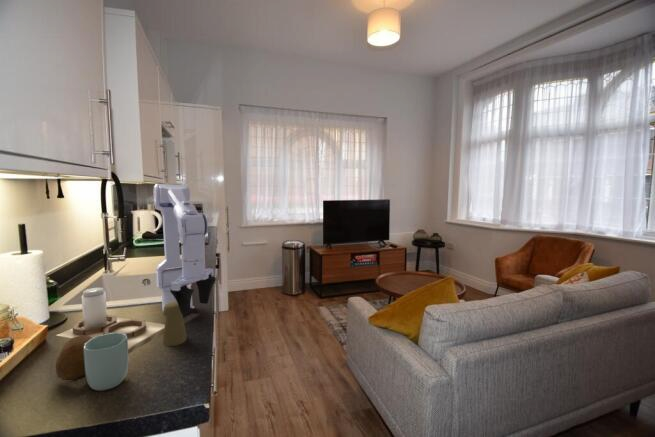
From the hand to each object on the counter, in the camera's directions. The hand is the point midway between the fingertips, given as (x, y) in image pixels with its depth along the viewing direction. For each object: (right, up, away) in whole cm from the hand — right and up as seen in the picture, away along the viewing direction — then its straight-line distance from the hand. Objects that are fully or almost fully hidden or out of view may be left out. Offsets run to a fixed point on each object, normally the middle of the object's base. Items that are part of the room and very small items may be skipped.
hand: (195, 308), depth 84 cm
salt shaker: (-33, -8, +7) cm, 34 cm away
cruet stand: (-26, -10, +6) cm, 28 cm away
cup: (-12, -12, -16) cm, 24 cm away
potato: (-21, -12, -12) cm, 27 cm away
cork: (-7, -10, +3) cm, 13 cm away
